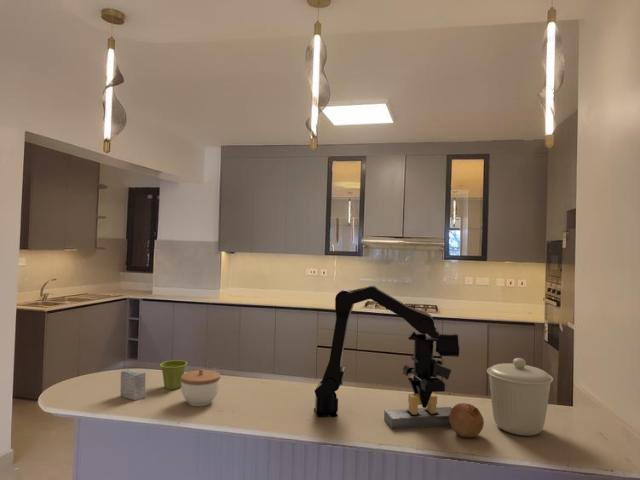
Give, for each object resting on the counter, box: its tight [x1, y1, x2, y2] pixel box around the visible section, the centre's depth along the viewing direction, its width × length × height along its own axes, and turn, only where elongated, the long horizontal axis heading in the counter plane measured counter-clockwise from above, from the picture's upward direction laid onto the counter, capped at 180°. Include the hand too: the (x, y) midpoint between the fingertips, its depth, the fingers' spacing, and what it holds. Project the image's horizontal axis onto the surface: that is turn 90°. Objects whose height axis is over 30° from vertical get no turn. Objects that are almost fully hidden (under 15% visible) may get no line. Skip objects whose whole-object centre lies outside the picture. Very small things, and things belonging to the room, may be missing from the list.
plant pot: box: [159, 359, 188, 391], centre depth 163 cm, size 9×9×9 cm
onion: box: [449, 402, 485, 438], centre depth 128 cm, size 10×9×10 cm
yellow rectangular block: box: [407, 392, 438, 414], centre depth 136 cm, size 8×3×5 cm, turn 100°
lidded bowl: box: [181, 368, 221, 407], centre depth 148 cm, size 13×13×11 cm
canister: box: [486, 357, 554, 437], centre depth 133 cm, size 18×18×21 cm
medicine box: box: [120, 368, 147, 401], centre depth 152 cm, size 8×4×9 cm, turn 58°
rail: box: [383, 406, 453, 430], centre depth 136 cm, size 22×7×3 cm, turn 100°
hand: (422, 405), depth 136 cm, fingers closed on yellow rectangular block, 3 cm apart
